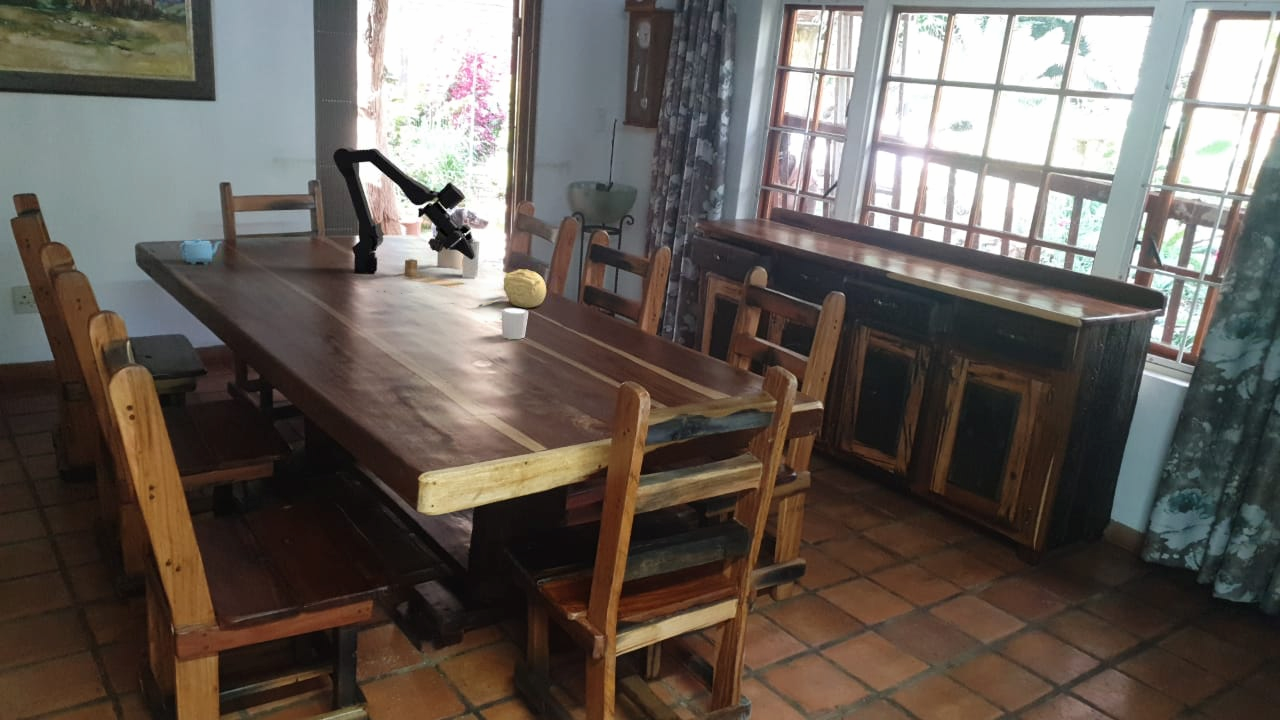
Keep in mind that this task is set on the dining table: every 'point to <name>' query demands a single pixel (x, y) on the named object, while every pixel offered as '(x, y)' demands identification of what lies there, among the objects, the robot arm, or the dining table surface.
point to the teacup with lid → (450, 259)
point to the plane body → (412, 275)
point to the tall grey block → (471, 261)
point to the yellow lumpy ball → (524, 288)
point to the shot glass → (514, 323)
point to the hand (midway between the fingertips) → (474, 256)
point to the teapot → (198, 251)
